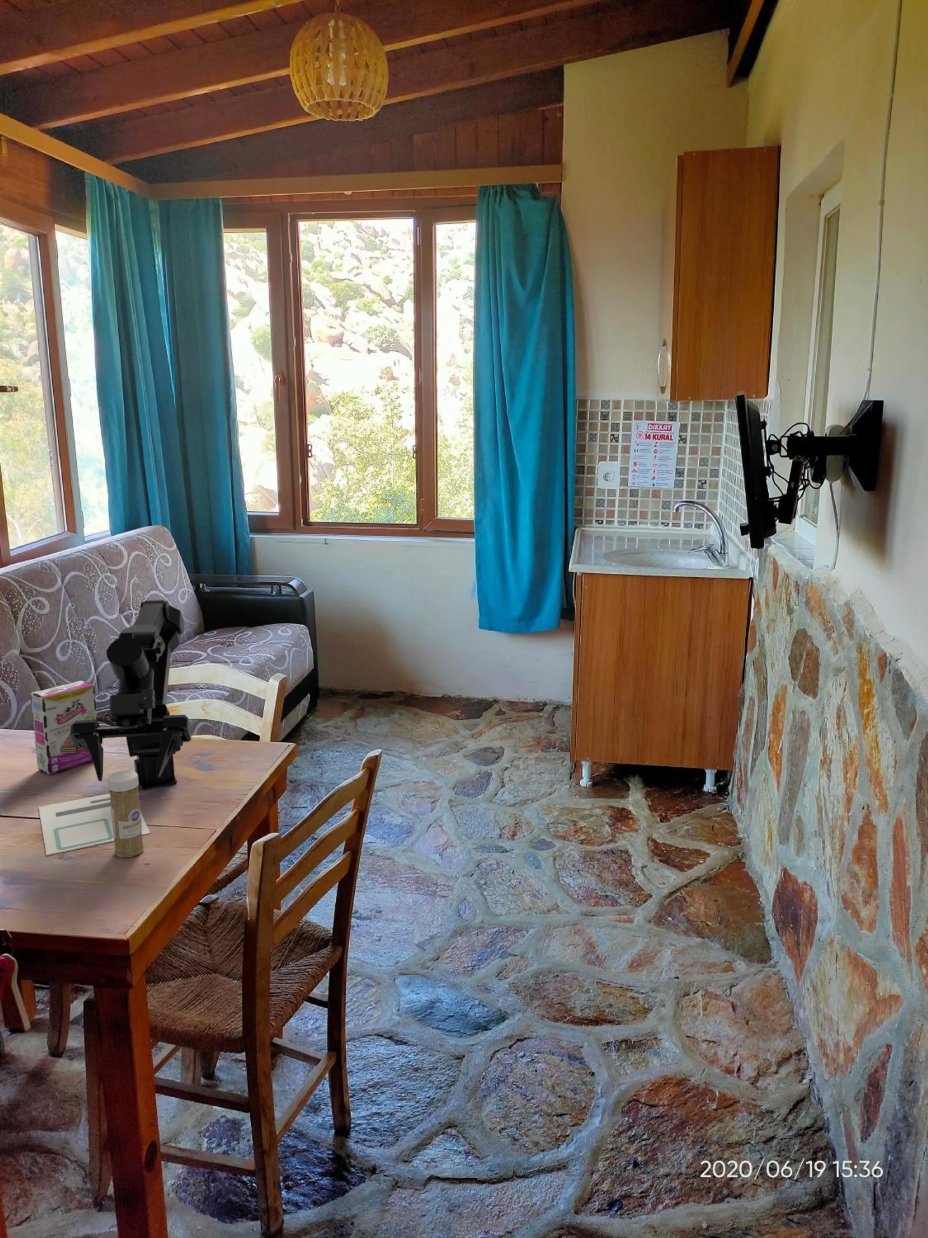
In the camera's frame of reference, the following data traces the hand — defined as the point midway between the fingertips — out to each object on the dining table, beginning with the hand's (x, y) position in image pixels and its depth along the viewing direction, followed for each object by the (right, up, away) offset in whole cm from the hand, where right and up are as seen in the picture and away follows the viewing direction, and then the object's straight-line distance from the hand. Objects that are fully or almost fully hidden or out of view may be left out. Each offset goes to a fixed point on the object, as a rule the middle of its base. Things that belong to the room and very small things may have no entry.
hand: (129, 778), depth 144 cm
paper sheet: (-10, -9, +9) cm, 16 cm away
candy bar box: (-25, -4, +34) cm, 42 cm away
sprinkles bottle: (+1, -12, -2) cm, 12 cm away
